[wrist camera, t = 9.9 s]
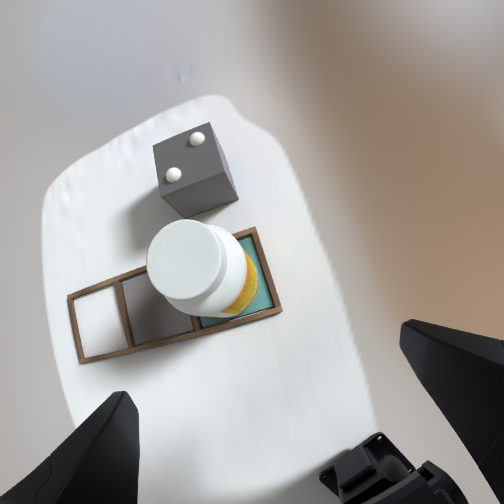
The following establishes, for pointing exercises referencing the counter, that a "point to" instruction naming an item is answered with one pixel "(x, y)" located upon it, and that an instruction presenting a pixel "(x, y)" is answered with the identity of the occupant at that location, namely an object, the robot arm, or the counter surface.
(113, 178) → the counter surface
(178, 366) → the counter surface
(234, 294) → the supplement bottle
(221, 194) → the die
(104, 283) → the board
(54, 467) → the robot arm
